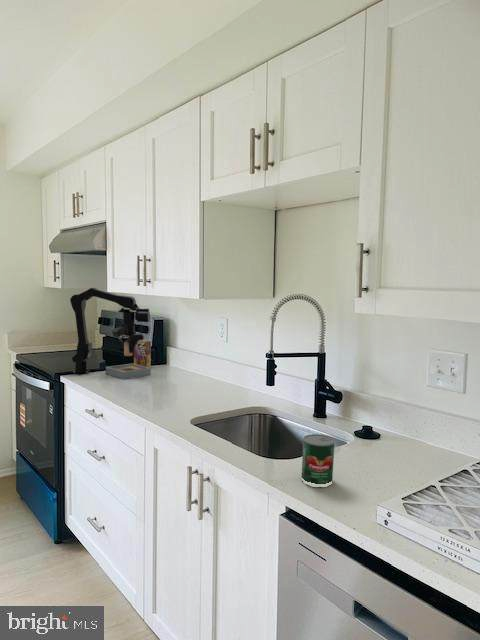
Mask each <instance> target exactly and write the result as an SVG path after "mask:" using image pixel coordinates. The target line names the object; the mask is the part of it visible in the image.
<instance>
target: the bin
mask: <svg viewBox="0 0 480 640" xmlns="http://www.w3.org/2000/svg"><path fill="white" fill-rule="evenodd" d="M151 370H152V369H151V367H150V368H148V367H144V366H140V365H137V364H134V363H127V364H119V365H110V366H105V374H106V375H108V376H112V377H115V378H118V379H119V380H120V379H121V380H127V379H128V380H129V379H133V378H140V377H142V378H143V377H146V376H151Z"/></svg>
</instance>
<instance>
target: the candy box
mask: <svg viewBox="0 0 480 640" xmlns="http://www.w3.org/2000/svg"><path fill="white" fill-rule="evenodd" d="M151 343H152V340H151V339H144V340H139V341H138V342H137V344H136V345H135V347H134V349H133V364H137V365H140V366H144V367H148V368H151V364H152V362H151V360H152V358H151V356H152V355H151V354H152V353H151V352H152V350H151V349H152V347H151V346H152V345H151Z"/></svg>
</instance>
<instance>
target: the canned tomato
mask: <svg viewBox="0 0 480 640" xmlns="http://www.w3.org/2000/svg"><path fill="white" fill-rule="evenodd" d="M302 439H303V442H302V443H303V444H302V457H301V458H302V459H301V462H302V463H301V465H302V466H301V478H303V479H304V480H305V481H307V482H311V483H315V484H326V483H329V482H331V481H332V482H333V478H334V477H333V476H334V475H333V474H334V462H335V461H334V458H335V456H334V455H335V443H336V441H335V440H336V439H334V438H333V437H332V436H328V435H325V434H318V433H315V434H307V435H305V436H303V438H302Z"/></svg>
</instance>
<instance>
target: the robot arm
mask: <svg viewBox="0 0 480 640" xmlns="http://www.w3.org/2000/svg"><path fill="white" fill-rule="evenodd" d="M93 297H94V298H95V297H96V298H98V299H102V300H106V301H110V302H114V303H116V304H118V305H119V306H121V309H120V310H118V313H122V323H121V322H120V326H119V327H117V328H114V329H112V330H111V334H112V336H113V337H115V338H117V339H118V340H119V341H121V343H122V348H123V349H124V341H127V342H128V343H129V353H132V354H133V352H134V347H135V345H136V344H137V342H138V341H139V340H145V339H144V338H145V337H144V334H142V333H137V332H136V331H135V327H137V323H150V321H151V314H150V308H140V307H139V306H138V304H137V302H136V298H135V297H134V296H132V295H131V296H129V295H119V294H116V293H112V292H108V291H105V290H102V289H98V288H96V287H89V288H88V289H87V290H85V291H83V292H81V293H79V294H73V295H72V296H71V297H70V299H69V300H70V301H69V302H70V304H71V308H72V310H73V312H74V315H75V323H76V333H77V341H78V342H77V345H76V354H74V355H73V357H72V358H71V360H72V362H73V363H74V370H72V371H73V374H75V375H82V374H90V371H88V370H87V360H88V359H89V357H90V356H91V355H92V354H93V351H94V347H93V342H90V341H89V339H88V333H87V331H88V330H87V324H86V323H87V322H86V315H85V314H86V313H85V312H86V311H85V310H86V305H87V304H86V303H87V301H89V300H90V299H92V298H93ZM136 321H137V323H135V322H136Z"/></svg>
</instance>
